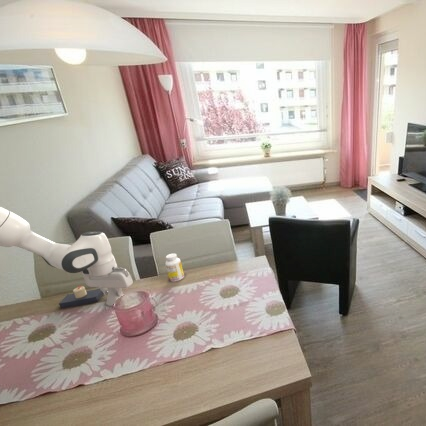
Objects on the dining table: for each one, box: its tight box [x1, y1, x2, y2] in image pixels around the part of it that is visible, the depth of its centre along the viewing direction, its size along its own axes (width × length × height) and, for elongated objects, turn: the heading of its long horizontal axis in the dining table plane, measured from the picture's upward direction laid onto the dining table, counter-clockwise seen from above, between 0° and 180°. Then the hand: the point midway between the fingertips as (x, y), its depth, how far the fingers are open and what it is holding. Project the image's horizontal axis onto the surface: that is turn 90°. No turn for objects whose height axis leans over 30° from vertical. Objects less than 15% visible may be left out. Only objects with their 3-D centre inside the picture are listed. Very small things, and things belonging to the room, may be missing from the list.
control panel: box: [58, 288, 104, 309], centre depth 130 cm, size 14×7×3 cm, turn 105°
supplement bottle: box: [164, 253, 185, 282], centre depth 142 cm, size 7×7×13 cm
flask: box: [105, 288, 125, 307], centre depth 127 cm, size 7×7×10 cm
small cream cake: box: [72, 285, 87, 298], centre depth 129 cm, size 4×4×4 cm
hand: (113, 294), depth 128 cm, fingers closed on flask, 5 cm apart
